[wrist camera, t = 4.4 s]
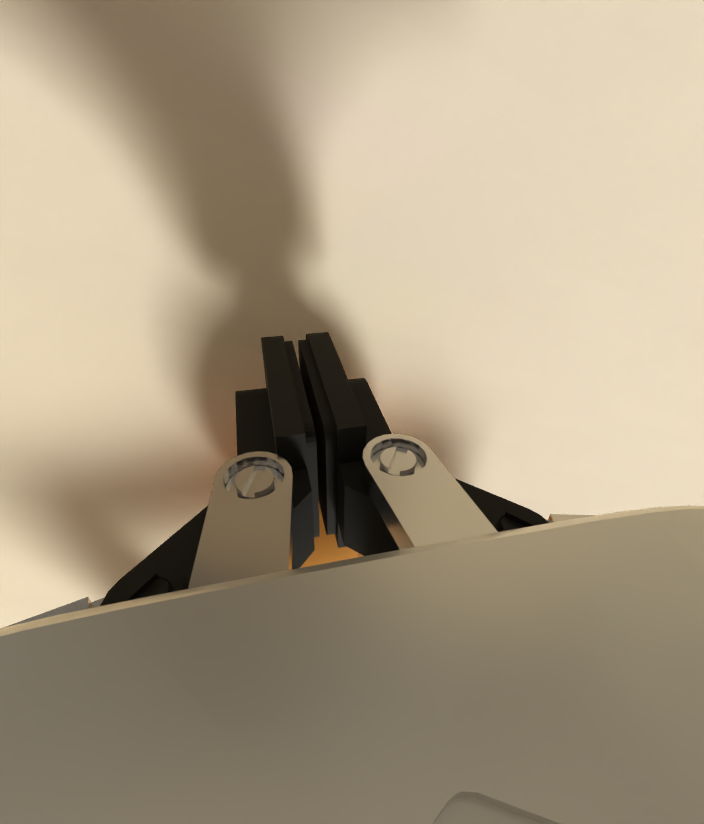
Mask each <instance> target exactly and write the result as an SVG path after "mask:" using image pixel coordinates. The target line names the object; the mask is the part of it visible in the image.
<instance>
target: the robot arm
mask: <svg viewBox="0 0 704 824" xmlns="http://www.w3.org/2000/svg"><path fill="white" fill-rule="evenodd" d="M261 342H262V351H263V360H264V369H265V378H266V387H267V388H264V389H254V390H245V391H236V426H237V456H236V457H234V458H232V459H231V460H229V461H227V462H226V463H225V464H224V465H223V466H222V467H221V468H220V469H219V471H218V473H217V475H216V477H215V480H214V484H213V488H212V492H211V496H210V501H209V505H208V506H207V507H206V508H205V509H203V510H202V511H201V512H200V513H199V514H197V515H196V516H195V517H194V518H193V519H191V520H190V521H189V522H188V523H187V524H185V525H184V526H183V527H182V528H181V529H180V530H178V531H177V532H176V533H175V534H174V535H172V536H171V537H170V538H169V539H168V540H166V541H165V542H164V543H163V544H162V545H160V546H159V547H158V548H157V549H156V550H155V551H153V552H152V553H151V554H150V555H149V556H147V557H146V558H145V559H144V560H143V561H141V562H140V563H139V564H138V565H137V566H135V567H134V568H133V569H132V570H131V571H130V572H128V573H127V574H126V575H125V576H124V577H122V578H121V579H120V580H119V581H118V582H117V583H116V584H115V585H114V586H113V587H112V588H111V589H110V590H109V591H108V593H107V594H106V596H105V598H102V599H100V600H97V601H94V602H92V603H91V601H90V599H89V598H88V597H86V598H84V599H81V600H78V601H75V602H73V603H70V604H67V605H64V606H62V607H59V608H56V609H53V610H51V611H48V612H45V613H42V614H40V615H37V616H34V617H31V618H29V619H26V620H23V621H20V622H18V623H15V624H12V625H9V626H7V627H4V628H0V824H704V506H673V507H655V508H647V509H640V510H632V511H623V512H615V513H609V514H603V515H597V516H596V515H560V514H550V516H549V519H548V520H545V519H544V518H543V517H542V516H541V515H539V514H537V513H535V512H534V511H532V510H530V509H528V508H525V507H523V506H520V505H518V504H516V503H513V502H511V501H508V500H506V499H503V498H501V497H499V496H496V495H494V494H491V493H489V492H486V491H484V490H482V489H479V488H477V487H474V486H472V485H469V484H467V483H465V482H462V481H460V480H457V479H455V478H454V477H453V476H452V475H451V473H450V472H449V471H448V470H447V468H446V467H445V466H444V465H443V463H442V462H441V461H440V460H439V458H438V457H437V456H436V455H435V453H434V452H433V451H432V450H431V449H430V448H429V447H428V446H427V445H426V444H425V443H424V442H423V441H421V440H419V439H417V438H415V437H412V436H408V435H405V434H391V432H390V429H389V427H388V425H387V423H386V421H385V419H384V417H383V415H382V413H381V410H380V408H379V406H378V404H377V402H376V400H375V398H374V396H373V394H372V391H371V389H370V387H369V385H368V383H367V381H366V380H365V379H364V378H360V379H350V380H348V379H347V376H346V374H345V372H344V369H343V367H342V364H341V362H340V360H339V357H338V355H337V352H336V350H335V347H334V345H333V343H332V340H331V338H330V335H329V333H328V332H324V333H312V334H306V340H299V342H298V346H299V364H300V369H299V365H298V361H297V357H296V354H295V350H294V346H293V342H292V341H286V342H284V338H283V336H276V337H264V338H261ZM319 504H320V509H321V513H322V518H323V522H324V527H325V531H326V534H327V535H331V534H335V537H336V541H337V545H338V548H341V547H348V548H350V549H352V550H354V551H356V552H358V557H357V558H352V559H346V560H341V561H335V562H330V563H324V564H319V565H314V566H308V567H303V568H300V567H301V566H302V565H303V563H304V562H305V561H306V560H307V559H308V558H309V556H310V555H311V554H312V553H313V552H314V550H315V546H314V537H319V536H320V527H319Z"/></svg>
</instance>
